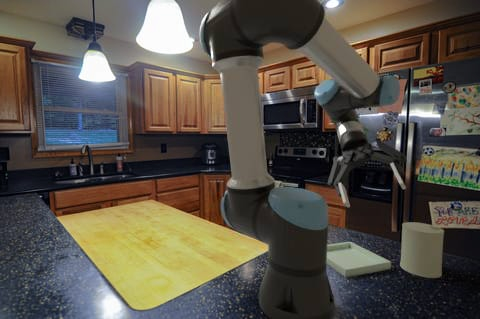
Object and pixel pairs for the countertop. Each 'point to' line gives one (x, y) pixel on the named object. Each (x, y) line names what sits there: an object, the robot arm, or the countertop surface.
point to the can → (422, 249)
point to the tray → (354, 260)
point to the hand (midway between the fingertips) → (373, 196)
